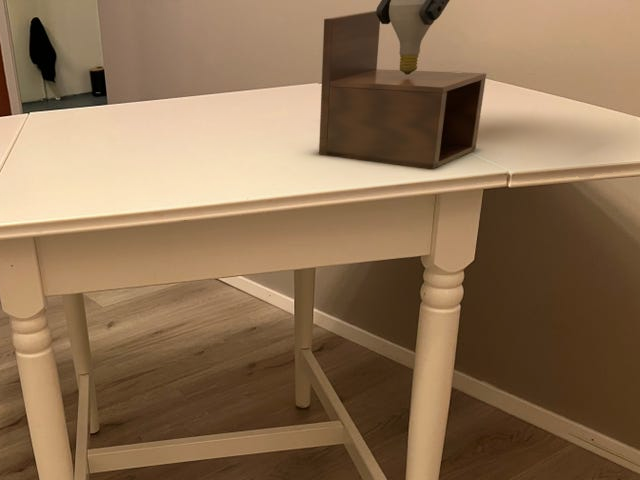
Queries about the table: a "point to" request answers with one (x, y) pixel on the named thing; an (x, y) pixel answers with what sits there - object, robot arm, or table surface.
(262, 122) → the table surface
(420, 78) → the shelf
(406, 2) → the light bulb
